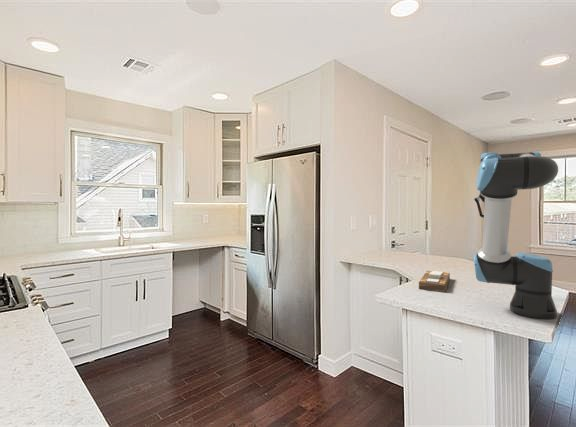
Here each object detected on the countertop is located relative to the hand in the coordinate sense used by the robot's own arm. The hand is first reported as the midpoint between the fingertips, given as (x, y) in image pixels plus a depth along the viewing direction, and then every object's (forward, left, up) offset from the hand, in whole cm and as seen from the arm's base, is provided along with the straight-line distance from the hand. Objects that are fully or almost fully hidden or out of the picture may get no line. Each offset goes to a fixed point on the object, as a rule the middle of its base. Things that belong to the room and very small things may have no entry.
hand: (488, 231), depth 162 cm
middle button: (-2, +24, -27) cm, 36 cm away
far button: (+9, +24, -28) cm, 38 cm away
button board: (-2, +24, -29) cm, 38 cm away
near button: (-12, +24, -28) cm, 39 cm away
